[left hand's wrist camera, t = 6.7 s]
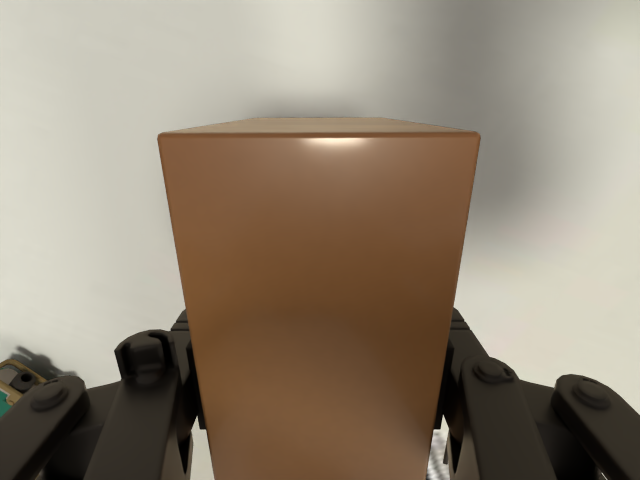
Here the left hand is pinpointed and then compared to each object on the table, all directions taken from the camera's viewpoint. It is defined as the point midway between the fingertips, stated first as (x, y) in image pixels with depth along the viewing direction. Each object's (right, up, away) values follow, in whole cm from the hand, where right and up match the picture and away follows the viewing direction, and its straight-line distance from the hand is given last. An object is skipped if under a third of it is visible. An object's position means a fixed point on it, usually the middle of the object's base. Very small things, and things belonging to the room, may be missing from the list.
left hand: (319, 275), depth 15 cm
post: (0, -21, +9) cm, 23 cm away
